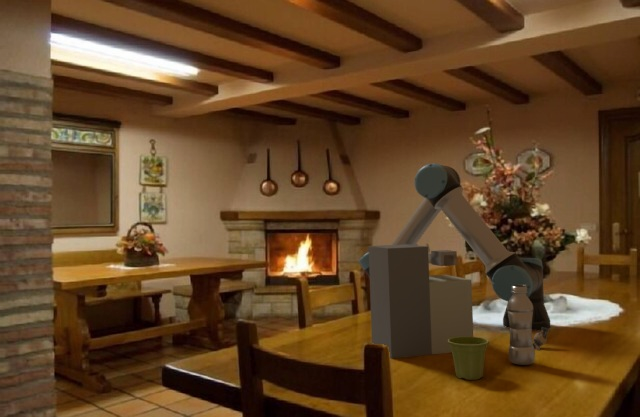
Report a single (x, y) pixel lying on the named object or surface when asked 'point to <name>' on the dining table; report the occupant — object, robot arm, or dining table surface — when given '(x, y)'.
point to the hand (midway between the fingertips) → (422, 247)
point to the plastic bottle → (520, 327)
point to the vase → (540, 338)
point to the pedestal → (415, 302)
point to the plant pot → (468, 356)
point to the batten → (443, 257)
